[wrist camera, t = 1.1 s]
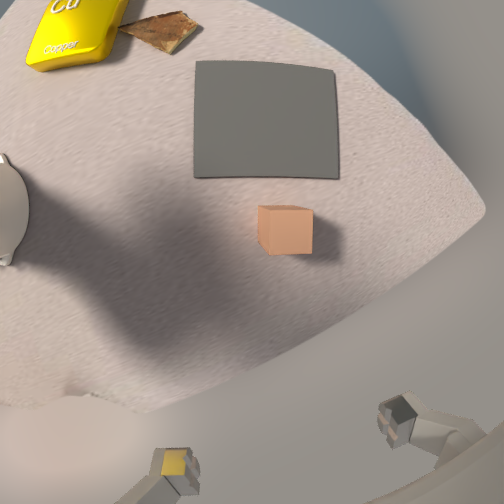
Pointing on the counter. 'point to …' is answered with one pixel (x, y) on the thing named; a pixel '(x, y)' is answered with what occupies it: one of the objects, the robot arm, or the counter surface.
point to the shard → (162, 30)
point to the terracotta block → (285, 229)
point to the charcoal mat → (264, 120)
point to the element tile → (75, 33)
